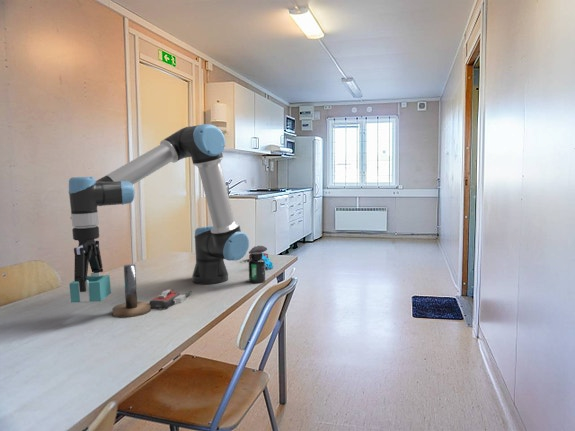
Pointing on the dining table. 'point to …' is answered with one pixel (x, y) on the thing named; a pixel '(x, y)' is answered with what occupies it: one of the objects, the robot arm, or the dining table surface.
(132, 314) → the post base
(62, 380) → the dining table surface
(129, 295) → the post
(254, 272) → the supplement bottle
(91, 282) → the collar
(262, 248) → the dark mushroom
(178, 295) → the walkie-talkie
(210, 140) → the robot arm
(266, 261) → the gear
